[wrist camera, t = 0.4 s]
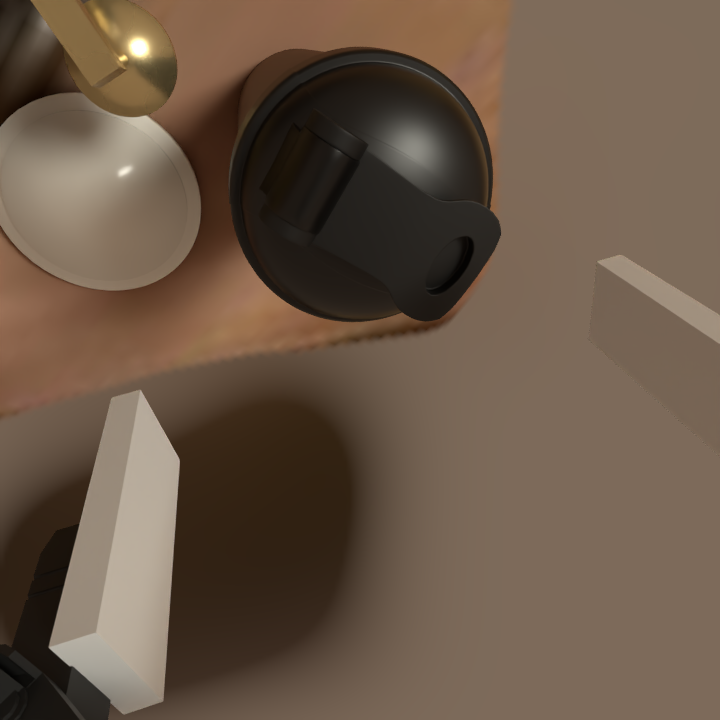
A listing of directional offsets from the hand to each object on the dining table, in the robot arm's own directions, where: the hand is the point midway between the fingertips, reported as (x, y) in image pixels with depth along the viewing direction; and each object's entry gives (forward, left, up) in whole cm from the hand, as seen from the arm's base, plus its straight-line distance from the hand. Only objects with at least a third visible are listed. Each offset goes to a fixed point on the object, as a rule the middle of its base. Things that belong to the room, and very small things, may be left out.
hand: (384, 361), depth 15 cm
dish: (-4, -12, -27) cm, 30 cm away
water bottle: (-1, +2, -27) cm, 27 cm away
